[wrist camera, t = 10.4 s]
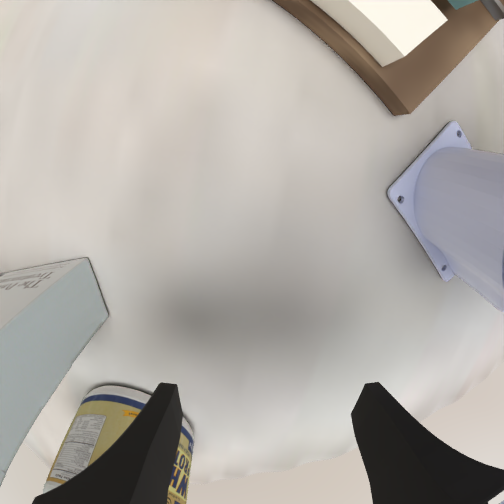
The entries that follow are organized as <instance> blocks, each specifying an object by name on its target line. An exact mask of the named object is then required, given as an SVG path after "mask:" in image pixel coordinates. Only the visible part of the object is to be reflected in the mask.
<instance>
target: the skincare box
mask: <svg viewBox="0 0 504 504" xmlns="http://www.w3.org/2000/svg"><path fill="white" fill-rule="evenodd" d="M107 318H108V312H107V310H106V307H105V305H104V302H103V299H102V296H101V293H100V290H99V287H98V285H97V282H96V279H95V276H94V273H93V271H92V268H91V265H90V262H89V260H88V259H87V258H82V259H76V260H70V261H65V262H59V263H53V264H48V265H43V266H38V267H32V268H27V269H22V270H17V271H12V272H7V273H2V274H0V486H1V484H2V482H3V480H4V478H5V475H6V472H7V470H8V468H9V466H10V464H11V462H12V460H13V458H14V456H15V454H16V453H17V451H18V449H19V447H20V445H21V444H22V442H23V440H24V439H25V437H26V435H27V433H28V432H29V430H30V428H31V427H32V425H33V423H34V422H35V420H36V418H37V417H38V415H39V414H40V412H41V410H42V409H43V408H44V406H45V405H46V403H47V402H48V400H49V399H50V397H51V396H52V394H53V393H54V391H55V390H56V388H57V387H58V385H59V384H60V382H61V381H62V379H63V378H64V377H65V375H66V374H67V372H68V371H69V369H70V368H71V366H72V364H73V362H74V361H75V360H76V358H77V357H78V356H79V354H80V353H81V351H82V350H83V349H84V347H85V346H86V345H87V343H88V342H89V341H90V339H91V338H92V337H93V336H94V334H95V333H96V332H97V330H98V329H99V328H100V327H101V325H102V324H103V323H104V322H105V321H106V319H107Z"/></svg>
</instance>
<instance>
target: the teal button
mask: <svg viewBox="0 0 504 504" xmlns="http://www.w3.org/2000/svg"><path fill="white" fill-rule="evenodd" d="M448 1H449V3H450V4H451V5H452V6H453V7H454V8H455V10H457V9H459V8H461V7H464V6H466V5H468V4H471V3H473V2H475V1H478V0H448Z"/></svg>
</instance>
